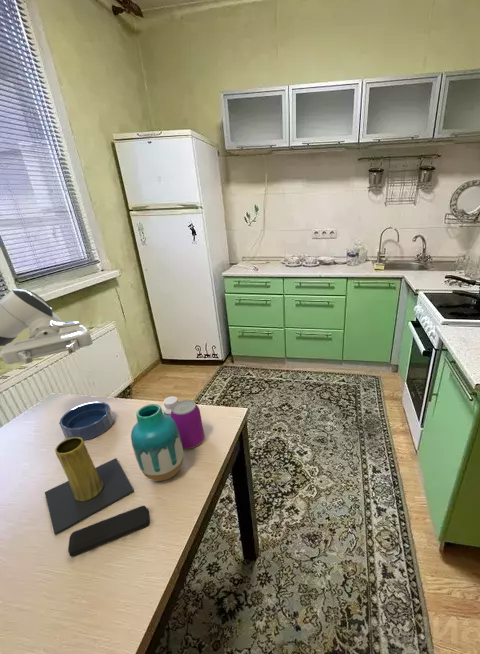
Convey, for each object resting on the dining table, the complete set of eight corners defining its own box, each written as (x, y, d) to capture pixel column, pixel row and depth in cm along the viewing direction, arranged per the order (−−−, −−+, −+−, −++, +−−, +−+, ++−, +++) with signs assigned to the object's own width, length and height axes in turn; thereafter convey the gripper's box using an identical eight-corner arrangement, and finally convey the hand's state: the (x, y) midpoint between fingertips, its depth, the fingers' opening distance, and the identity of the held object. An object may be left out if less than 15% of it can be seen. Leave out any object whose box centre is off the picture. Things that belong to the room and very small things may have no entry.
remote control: (148, 509, 73) (70, 537, 67) (147, 503, 72) (68, 531, 66) (150, 527, 69) (68, 558, 63) (149, 521, 68) (65, 553, 62)
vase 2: (136, 470, 82) (116, 409, 74) (176, 450, 88) (162, 391, 80) (152, 496, 75) (132, 432, 66) (194, 472, 81) (180, 411, 73)
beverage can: (194, 453, 87) (186, 418, 82) (171, 446, 90) (162, 411, 84) (210, 435, 94) (204, 401, 88) (188, 429, 96) (181, 395, 91)
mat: (55, 535, 67) (54, 533, 67) (45, 493, 77) (44, 492, 76) (134, 491, 77) (133, 490, 76) (116, 459, 86) (116, 457, 86)
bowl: (69, 448, 90) (64, 436, 88) (61, 426, 99) (55, 414, 97) (119, 427, 98) (115, 415, 96) (107, 408, 107) (103, 396, 105)
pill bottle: (172, 417, 101) (166, 394, 97) (187, 418, 100) (182, 395, 96) (163, 429, 96) (157, 404, 92) (180, 430, 96) (174, 405, 92)
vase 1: (72, 505, 73) (49, 459, 66) (76, 485, 78) (55, 440, 71) (102, 496, 75) (83, 449, 69) (104, 476, 80) (86, 432, 74)
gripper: (-2, 337, 87) (-7, 355, 76) (84, 319, 97) (90, 334, 87) (8, 357, 90) (4, 378, 79) (91, 338, 100) (97, 355, 90)
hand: (50, 355), depth 83 cm, fingers open, 8 cm apart
